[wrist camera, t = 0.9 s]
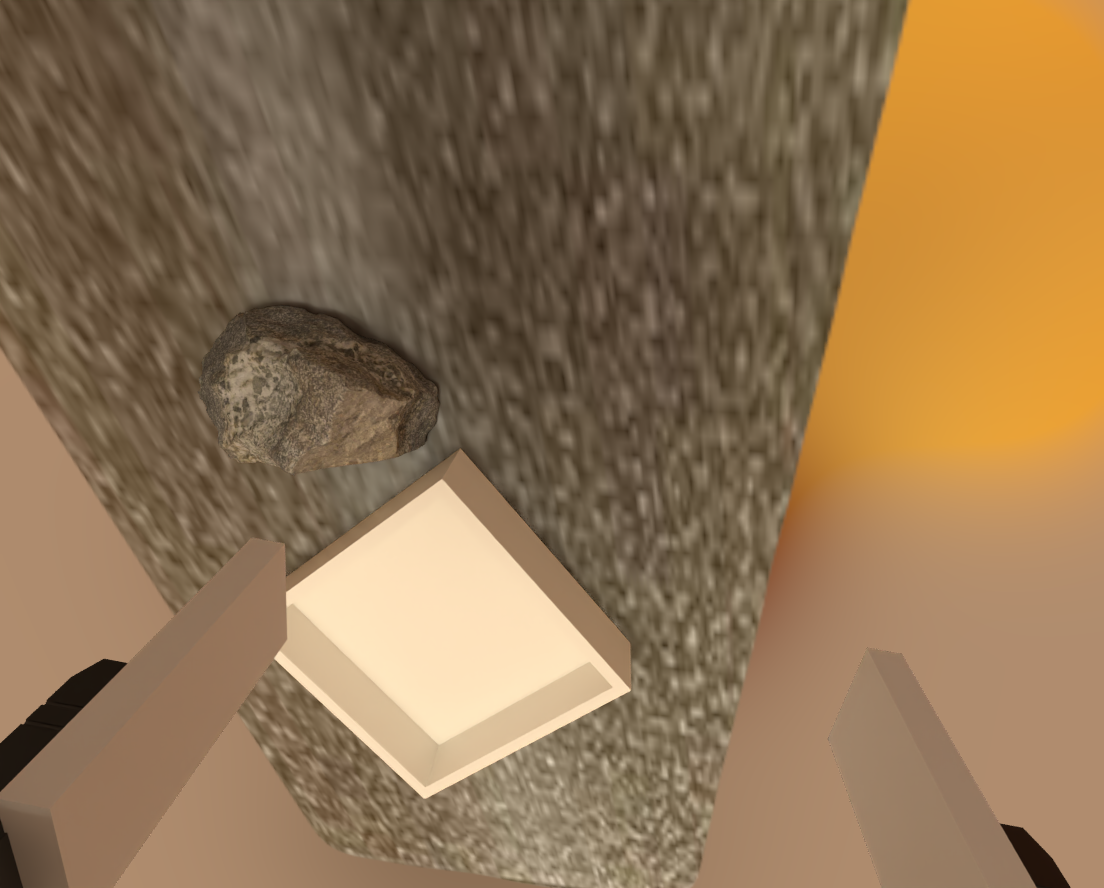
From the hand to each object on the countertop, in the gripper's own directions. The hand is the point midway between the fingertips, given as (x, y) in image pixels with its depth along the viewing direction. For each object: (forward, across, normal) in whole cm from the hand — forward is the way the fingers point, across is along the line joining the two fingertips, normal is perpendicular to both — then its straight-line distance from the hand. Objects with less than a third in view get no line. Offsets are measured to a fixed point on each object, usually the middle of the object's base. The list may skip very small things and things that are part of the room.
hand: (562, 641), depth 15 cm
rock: (+25, -16, -4) cm, 29 cm away
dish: (+24, -7, -20) cm, 32 cm away
